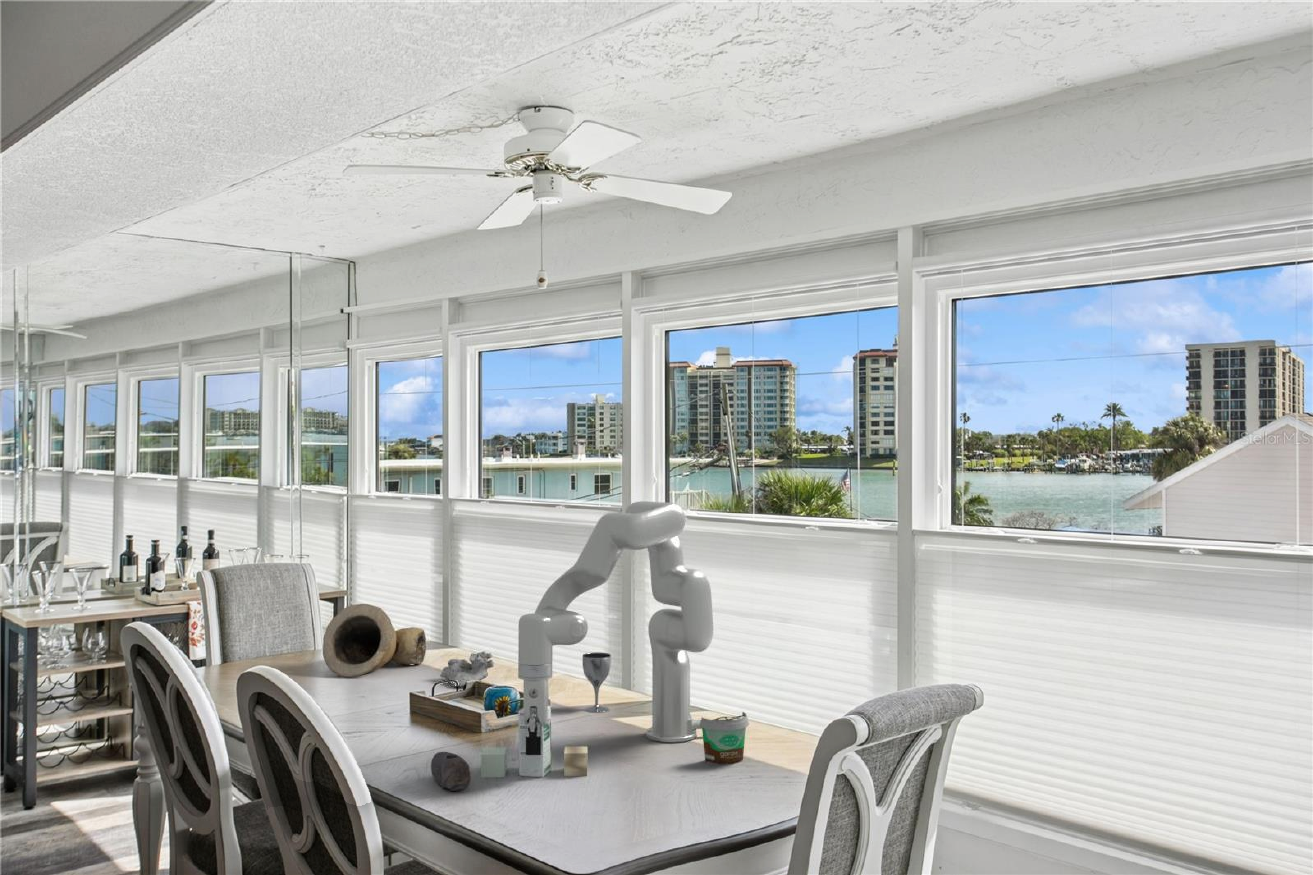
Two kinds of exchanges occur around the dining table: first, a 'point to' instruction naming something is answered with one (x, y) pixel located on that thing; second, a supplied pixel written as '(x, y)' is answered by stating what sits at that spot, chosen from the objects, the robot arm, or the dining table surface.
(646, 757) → the dining table surface
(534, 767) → the syrup box
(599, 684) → the wine glass
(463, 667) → the coral
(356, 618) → the footed stone vessel
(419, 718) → the dining table surface
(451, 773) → the perforated stone tool
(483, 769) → the sage cube
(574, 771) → the birch cube
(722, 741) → the food container
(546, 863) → the dining table surface
